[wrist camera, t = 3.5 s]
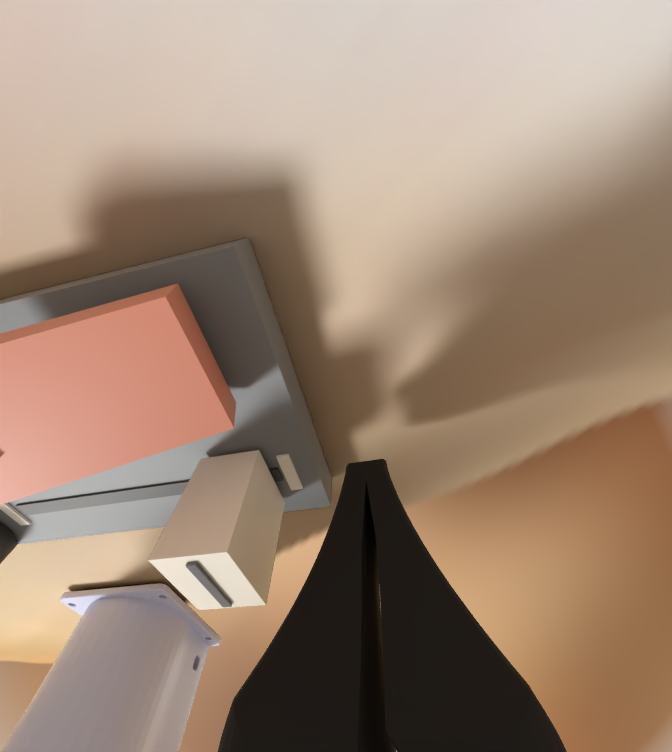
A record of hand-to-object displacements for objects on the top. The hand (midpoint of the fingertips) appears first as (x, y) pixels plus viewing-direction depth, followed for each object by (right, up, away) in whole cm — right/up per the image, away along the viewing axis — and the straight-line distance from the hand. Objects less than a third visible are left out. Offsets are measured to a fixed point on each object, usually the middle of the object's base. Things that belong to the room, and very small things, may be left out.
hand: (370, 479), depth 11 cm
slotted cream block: (-5, -1, +1) cm, 5 cm away
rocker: (-8, +3, -3) cm, 9 cm away
